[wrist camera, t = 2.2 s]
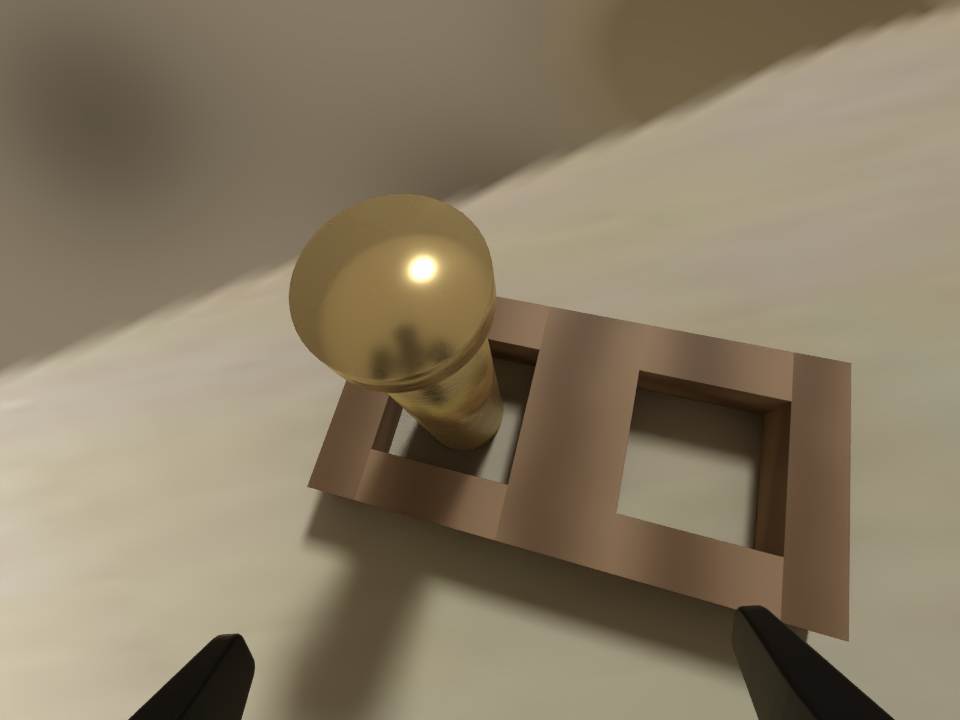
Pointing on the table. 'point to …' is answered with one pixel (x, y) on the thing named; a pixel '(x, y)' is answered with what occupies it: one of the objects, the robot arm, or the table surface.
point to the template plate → (601, 455)
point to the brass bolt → (405, 311)
